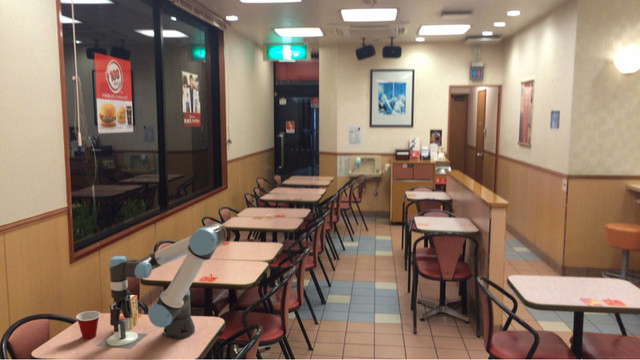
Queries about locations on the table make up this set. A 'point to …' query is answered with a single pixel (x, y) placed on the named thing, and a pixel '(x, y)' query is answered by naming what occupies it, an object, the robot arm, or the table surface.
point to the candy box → (133, 311)
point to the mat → (104, 344)
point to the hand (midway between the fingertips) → (122, 334)
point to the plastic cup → (88, 323)
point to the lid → (122, 336)
